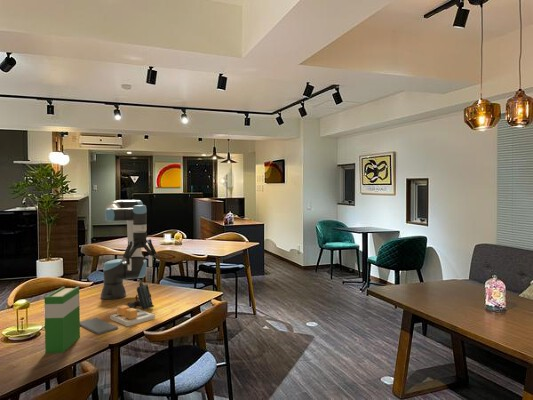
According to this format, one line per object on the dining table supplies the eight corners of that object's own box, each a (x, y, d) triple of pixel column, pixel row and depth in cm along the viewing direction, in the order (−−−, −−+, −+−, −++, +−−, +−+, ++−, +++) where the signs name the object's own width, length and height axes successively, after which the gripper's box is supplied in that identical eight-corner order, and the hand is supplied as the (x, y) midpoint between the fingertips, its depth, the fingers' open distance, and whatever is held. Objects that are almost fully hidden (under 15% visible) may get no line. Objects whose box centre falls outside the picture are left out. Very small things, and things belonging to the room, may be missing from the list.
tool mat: (77, 324, 203) (77, 322, 203) (96, 319, 211) (96, 317, 211) (98, 334, 189) (98, 332, 189) (117, 328, 196) (117, 326, 196)
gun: (124, 283, 233) (147, 278, 230) (131, 311, 233) (154, 306, 229) (122, 284, 230) (144, 279, 227) (129, 312, 230) (152, 307, 227)
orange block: (125, 317, 207) (125, 309, 206) (132, 315, 210) (131, 307, 209) (130, 319, 203) (130, 311, 203) (137, 317, 206) (137, 309, 206)
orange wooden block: (117, 314, 212) (117, 306, 212) (124, 312, 215) (124, 304, 215) (122, 315, 209) (122, 308, 208) (129, 314, 212) (129, 306, 212)
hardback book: (63, 337, 185) (62, 286, 184) (79, 337, 186) (79, 286, 185) (45, 353, 167) (44, 297, 167) (63, 352, 168) (62, 296, 167)
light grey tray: (110, 319, 211) (110, 315, 211) (137, 312, 223) (137, 308, 223) (127, 326, 200) (127, 322, 200) (154, 318, 212) (154, 314, 212)
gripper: (123, 234, 216) (123, 272, 217) (162, 230, 236) (162, 266, 236) (116, 233, 221) (116, 270, 222) (154, 229, 240) (154, 264, 241)
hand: (140, 268), depth 229 cm, fingers open, 13 cm apart
